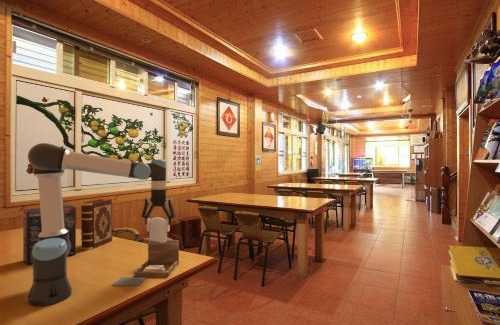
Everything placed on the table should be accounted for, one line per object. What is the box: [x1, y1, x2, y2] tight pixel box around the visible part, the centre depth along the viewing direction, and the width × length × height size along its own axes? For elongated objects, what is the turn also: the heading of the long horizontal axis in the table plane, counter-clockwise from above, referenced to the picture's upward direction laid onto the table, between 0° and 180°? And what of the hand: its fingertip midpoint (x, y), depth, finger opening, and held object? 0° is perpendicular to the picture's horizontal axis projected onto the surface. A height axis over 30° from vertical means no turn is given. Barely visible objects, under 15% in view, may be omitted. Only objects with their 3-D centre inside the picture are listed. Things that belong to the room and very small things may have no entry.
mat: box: [111, 276, 147, 287], centre depth 138 cm, size 9×12×1 cm
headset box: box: [22, 204, 77, 265], centre depth 174 cm, size 25×12×33 cm, turn 136°
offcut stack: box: [142, 264, 167, 273], centre depth 148 cm, size 7×10×4 cm, turn 88°
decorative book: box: [79, 198, 113, 251], centre depth 200 cm, size 22×8×30 cm, turn 168°
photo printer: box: [148, 216, 168, 243], centre depth 155 cm, size 10×4×12 cm, turn 61°
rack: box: [133, 239, 180, 278], centre depth 153 cm, size 19×17×13 cm
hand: (158, 231), depth 155 cm, fingers closed on photo printer, 10 cm apart
